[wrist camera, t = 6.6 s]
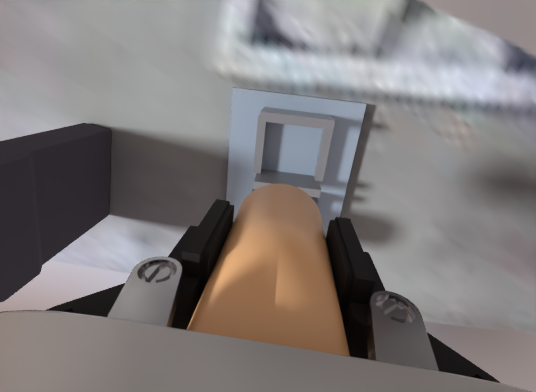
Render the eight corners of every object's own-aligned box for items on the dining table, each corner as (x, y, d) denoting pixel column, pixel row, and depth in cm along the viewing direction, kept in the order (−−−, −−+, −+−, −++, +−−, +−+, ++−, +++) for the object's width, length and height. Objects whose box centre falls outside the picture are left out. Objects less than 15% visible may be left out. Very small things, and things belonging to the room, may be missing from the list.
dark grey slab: (79, 120, 31) (-94, 154, 17) (117, 130, 31) (-23, 173, 17) (80, 207, 35) (-56, 291, 21) (114, 216, 35) (0, 305, 21)
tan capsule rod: (240, 177, 13) (138, 360, 4) (329, 190, 12) (401, 405, 4) (234, 252, 14) (149, 494, 6) (313, 264, 14) (341, 530, 6)
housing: (234, 87, 28) (206, 92, 19) (364, 103, 28) (400, 116, 19) (225, 240, 35) (202, 297, 26) (328, 254, 35) (341, 317, 26)
